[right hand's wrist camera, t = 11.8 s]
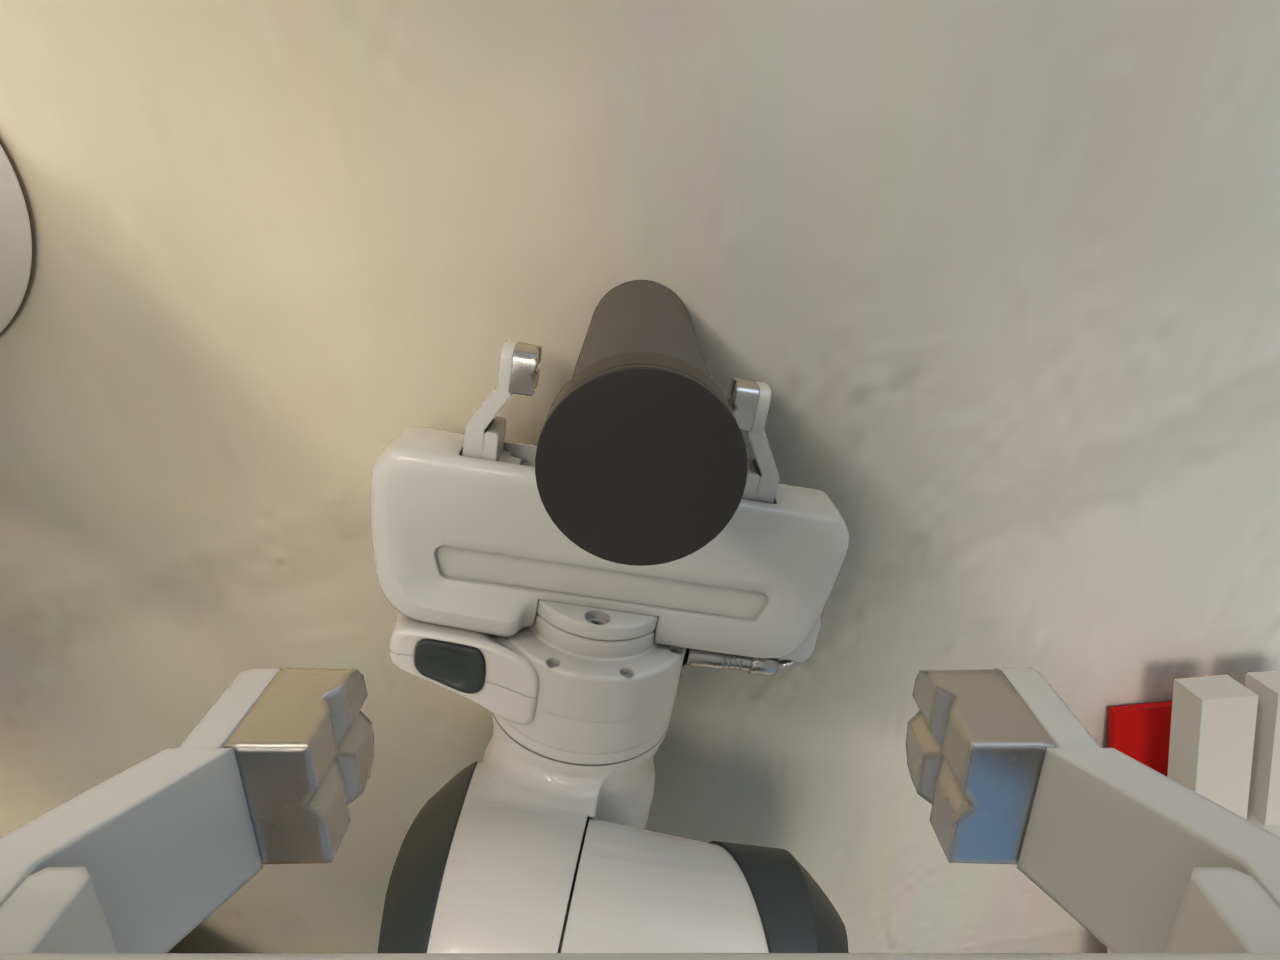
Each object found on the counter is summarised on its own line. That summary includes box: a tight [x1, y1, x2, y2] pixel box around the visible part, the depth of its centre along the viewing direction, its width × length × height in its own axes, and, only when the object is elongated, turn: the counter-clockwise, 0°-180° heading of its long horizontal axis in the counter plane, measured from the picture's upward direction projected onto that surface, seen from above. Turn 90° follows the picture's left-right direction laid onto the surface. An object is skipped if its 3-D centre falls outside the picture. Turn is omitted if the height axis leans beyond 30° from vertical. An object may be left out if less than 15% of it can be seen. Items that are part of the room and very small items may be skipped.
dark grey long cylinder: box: [572, 280, 711, 379], centre depth 28 cm, size 5×5×18 cm
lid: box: [535, 352, 748, 566], centre depth 20 cm, size 5×5×2 cm
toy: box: [1107, 670, 1280, 953], centre depth 43 cm, size 12×13×30 cm
